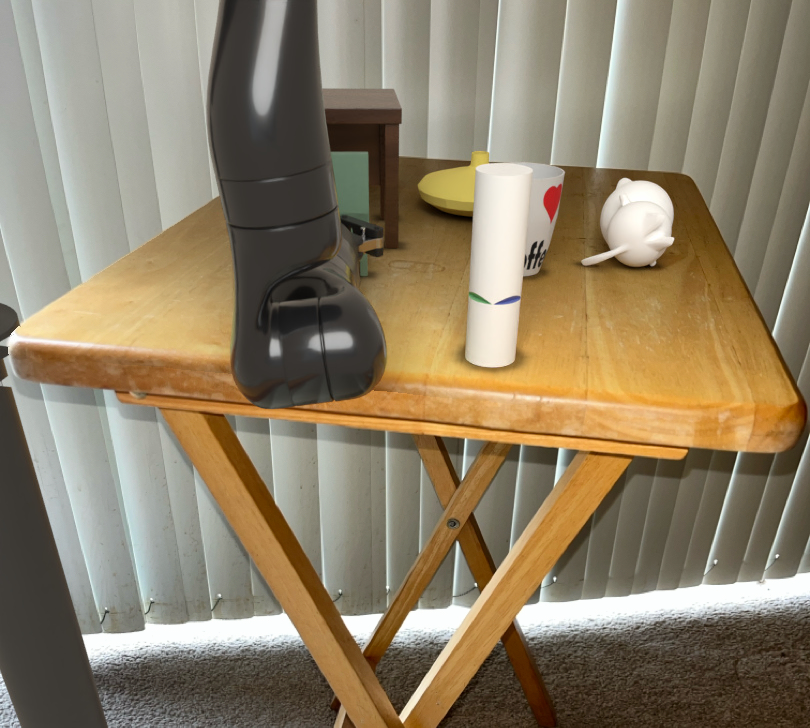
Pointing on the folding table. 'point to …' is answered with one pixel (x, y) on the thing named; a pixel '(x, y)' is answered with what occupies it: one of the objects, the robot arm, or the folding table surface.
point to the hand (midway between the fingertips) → (318, 215)
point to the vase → (453, 186)
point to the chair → (353, 189)
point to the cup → (541, 213)
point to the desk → (370, 141)
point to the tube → (497, 262)
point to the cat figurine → (636, 224)
